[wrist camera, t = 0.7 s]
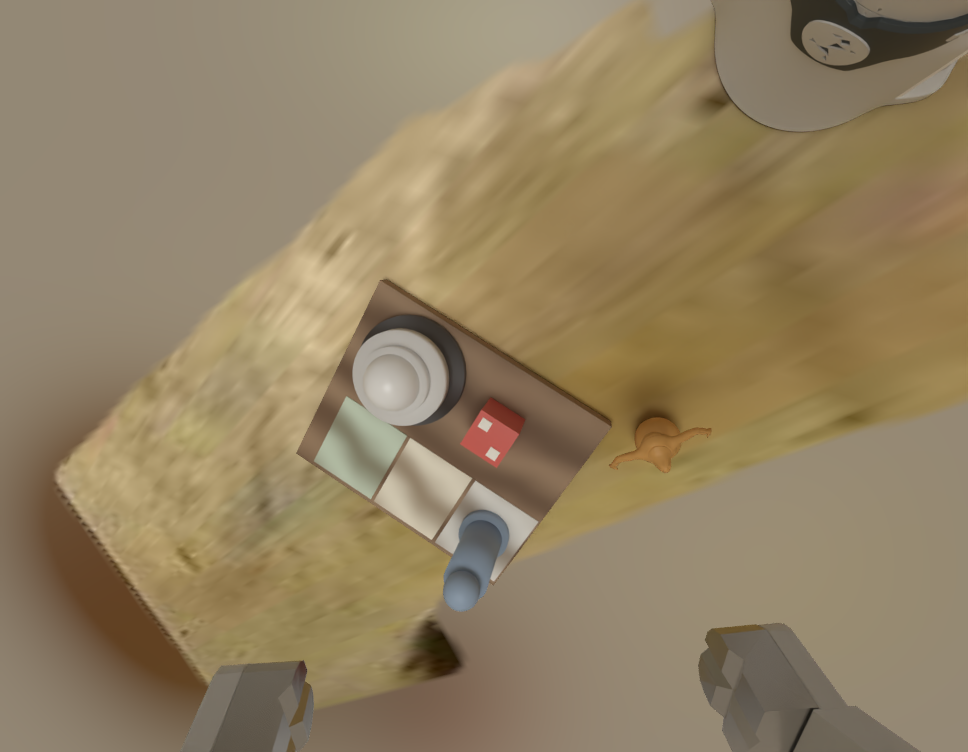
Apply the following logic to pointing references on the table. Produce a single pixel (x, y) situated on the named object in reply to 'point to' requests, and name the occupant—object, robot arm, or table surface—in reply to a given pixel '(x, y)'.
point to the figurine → (658, 443)
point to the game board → (452, 436)
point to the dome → (400, 376)
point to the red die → (493, 432)
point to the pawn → (474, 558)
